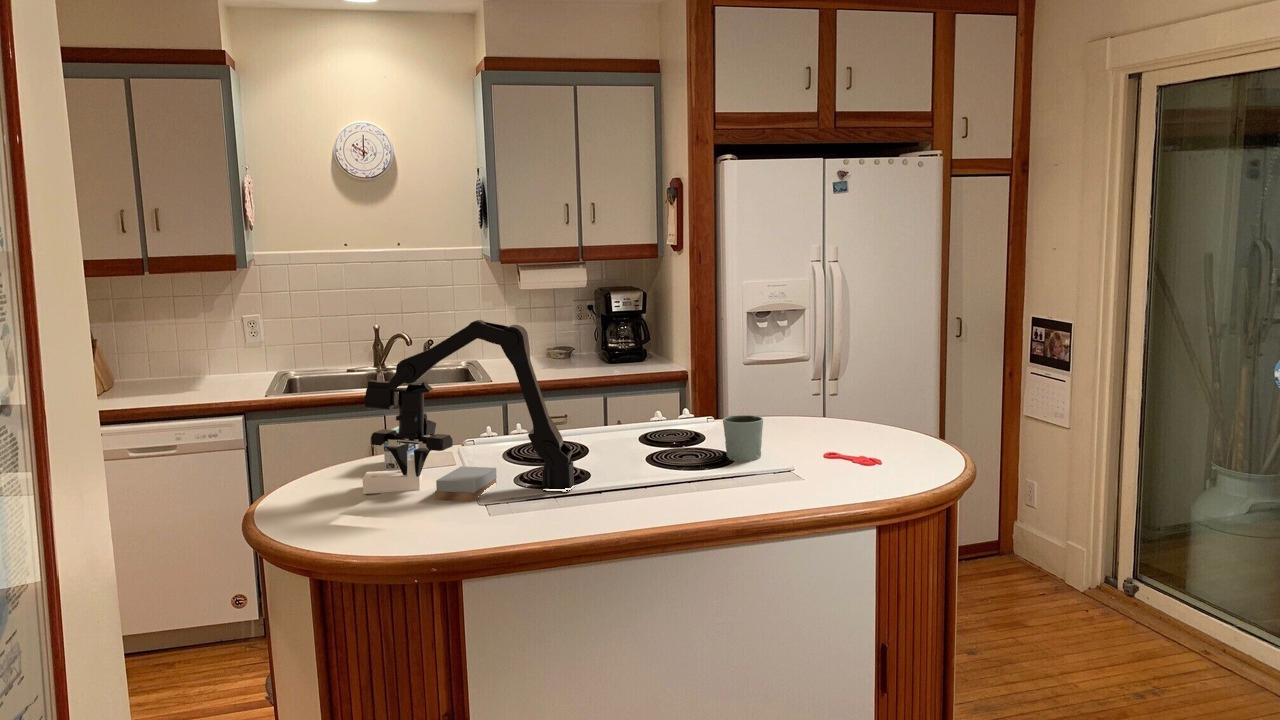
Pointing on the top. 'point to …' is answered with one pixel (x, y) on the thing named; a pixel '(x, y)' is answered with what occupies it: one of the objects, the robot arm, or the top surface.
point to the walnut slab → (461, 494)
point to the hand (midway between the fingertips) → (411, 475)
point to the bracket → (392, 480)
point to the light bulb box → (389, 458)
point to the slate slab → (466, 479)
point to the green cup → (743, 437)
